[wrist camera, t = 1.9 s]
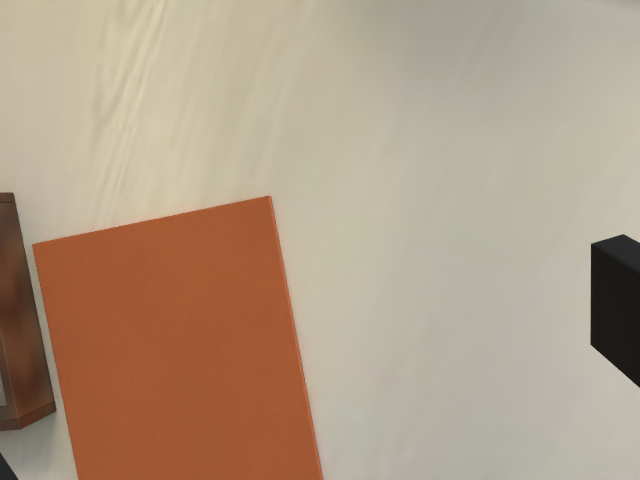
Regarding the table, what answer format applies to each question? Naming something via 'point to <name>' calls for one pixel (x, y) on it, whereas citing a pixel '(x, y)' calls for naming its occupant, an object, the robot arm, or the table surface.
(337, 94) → the table surface
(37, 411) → the brown wooden square frame
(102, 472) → the mat
